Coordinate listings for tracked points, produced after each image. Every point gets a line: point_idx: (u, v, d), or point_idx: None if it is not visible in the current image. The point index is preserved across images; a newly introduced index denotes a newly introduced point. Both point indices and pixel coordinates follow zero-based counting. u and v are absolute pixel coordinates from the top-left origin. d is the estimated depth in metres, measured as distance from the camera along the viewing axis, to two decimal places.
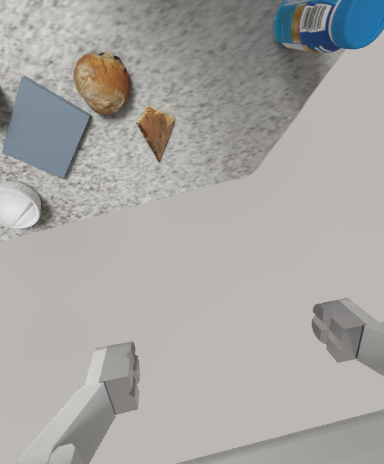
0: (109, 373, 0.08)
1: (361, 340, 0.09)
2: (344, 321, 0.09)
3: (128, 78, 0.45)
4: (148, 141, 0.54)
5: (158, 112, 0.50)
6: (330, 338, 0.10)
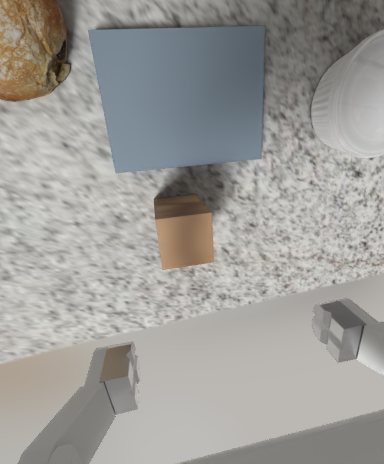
0: (109, 373, 0.08)
1: (361, 339, 0.09)
2: (344, 321, 0.09)
3: None
4: None
5: None
6: (330, 338, 0.10)
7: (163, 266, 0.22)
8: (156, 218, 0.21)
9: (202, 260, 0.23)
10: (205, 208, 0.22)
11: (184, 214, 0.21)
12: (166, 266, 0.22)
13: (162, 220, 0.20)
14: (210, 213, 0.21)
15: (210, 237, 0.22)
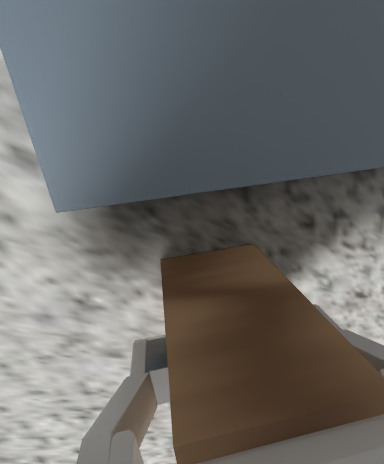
0: (153, 364, 0.08)
1: None
2: None
3: None
4: None
5: None
6: None
7: None
8: (177, 429, 0.05)
9: None
10: (337, 339, 0.07)
11: (284, 400, 0.05)
12: None
13: (205, 442, 0.05)
14: None
15: None
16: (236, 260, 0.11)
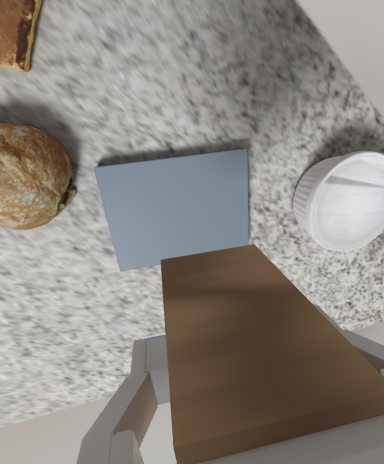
0: (153, 364, 0.08)
1: None
2: None
3: None
4: (30, 7, 0.19)
5: None
6: None
7: None
8: (177, 429, 0.05)
9: None
10: (338, 340, 0.07)
11: (285, 401, 0.05)
12: None
13: (205, 443, 0.05)
14: None
15: None
16: (236, 260, 0.11)
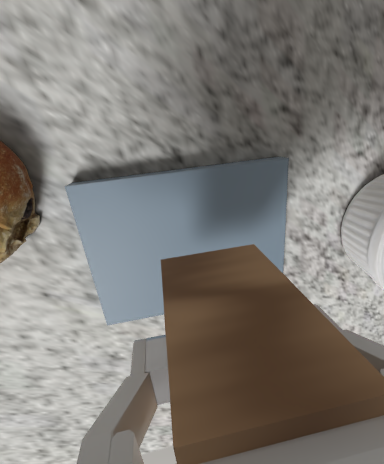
0: (153, 364, 0.08)
1: None
2: None
3: None
4: None
5: None
6: None
7: None
8: (177, 430, 0.05)
9: None
10: (338, 339, 0.07)
11: (285, 401, 0.05)
12: None
13: (205, 443, 0.05)
14: None
15: None
16: (236, 260, 0.11)
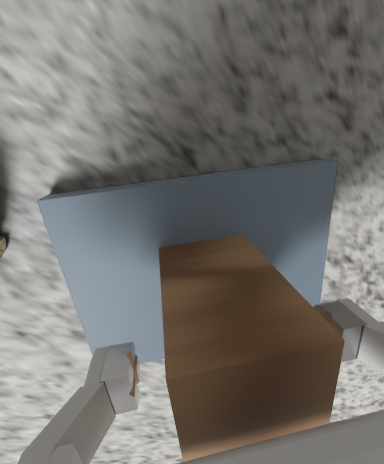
0: (109, 373, 0.08)
1: (361, 340, 0.09)
2: (344, 321, 0.09)
3: None
4: None
5: None
6: None
7: None
8: (169, 368, 0.06)
9: None
10: (304, 306, 0.08)
11: (255, 348, 0.07)
12: None
13: (191, 377, 0.06)
14: (339, 342, 0.07)
15: (327, 398, 0.07)
16: (226, 247, 0.13)
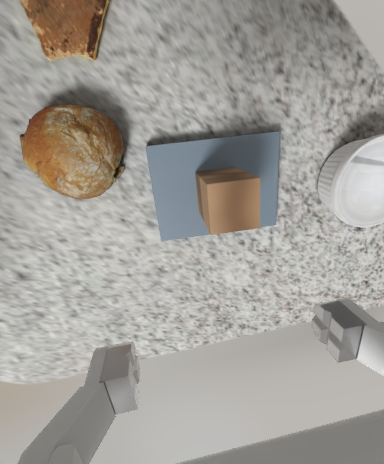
0: (109, 373, 0.08)
1: (361, 340, 0.09)
2: (344, 321, 0.09)
3: (29, 123, 0.24)
4: (102, 3, 0.22)
5: (35, 26, 0.22)
6: (330, 338, 0.10)
7: (211, 231, 0.23)
8: (207, 183, 0.22)
9: (248, 226, 0.23)
10: (251, 175, 0.23)
11: (233, 180, 0.22)
12: (214, 231, 0.23)
13: (213, 185, 0.21)
14: (258, 178, 0.22)
15: (257, 202, 0.23)
16: (226, 170, 0.28)
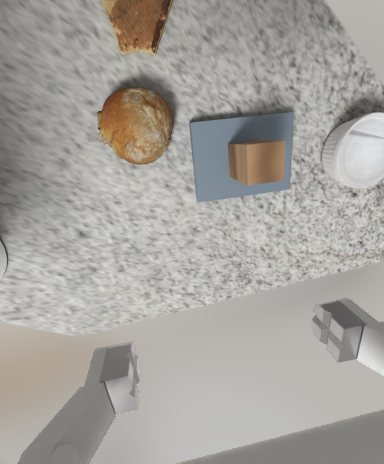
0: (109, 373, 0.08)
1: (361, 339, 0.09)
2: (344, 321, 0.09)
3: (105, 102, 0.31)
4: (164, 11, 0.30)
5: (115, 28, 0.29)
6: (330, 338, 0.10)
7: (248, 182, 0.31)
8: (246, 144, 0.29)
9: (275, 178, 0.31)
10: (277, 140, 0.31)
11: (265, 142, 0.29)
12: (250, 182, 0.31)
13: (252, 145, 0.29)
14: (284, 141, 0.29)
15: (282, 160, 0.30)
16: (253, 141, 0.35)
